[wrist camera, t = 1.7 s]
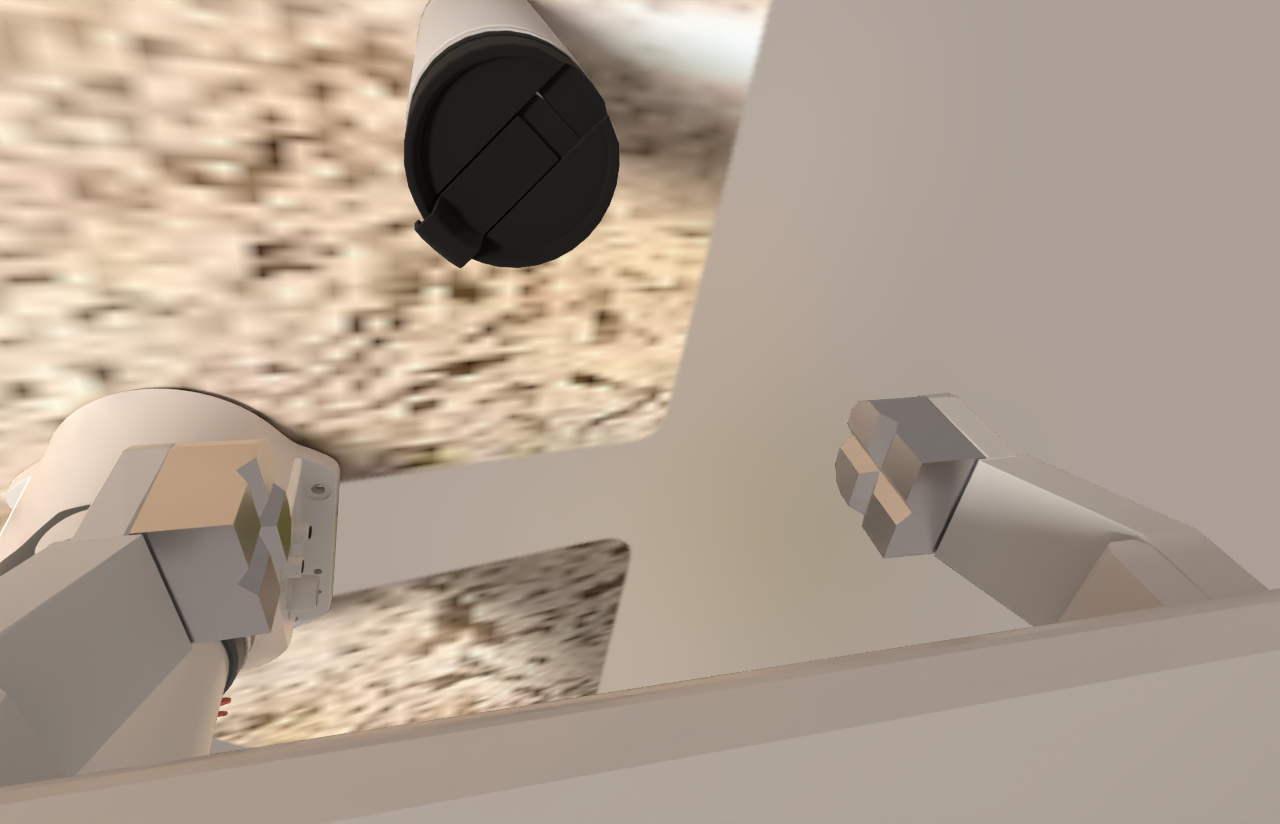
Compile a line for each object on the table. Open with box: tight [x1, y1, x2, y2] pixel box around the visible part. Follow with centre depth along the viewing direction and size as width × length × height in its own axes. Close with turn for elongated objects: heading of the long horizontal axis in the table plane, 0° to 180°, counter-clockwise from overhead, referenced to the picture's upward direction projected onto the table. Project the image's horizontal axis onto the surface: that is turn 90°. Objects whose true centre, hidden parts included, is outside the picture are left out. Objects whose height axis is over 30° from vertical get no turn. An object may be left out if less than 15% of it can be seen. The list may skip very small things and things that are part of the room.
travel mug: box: [404, 0, 619, 268], centre depth 28 cm, size 6×7×20 cm
